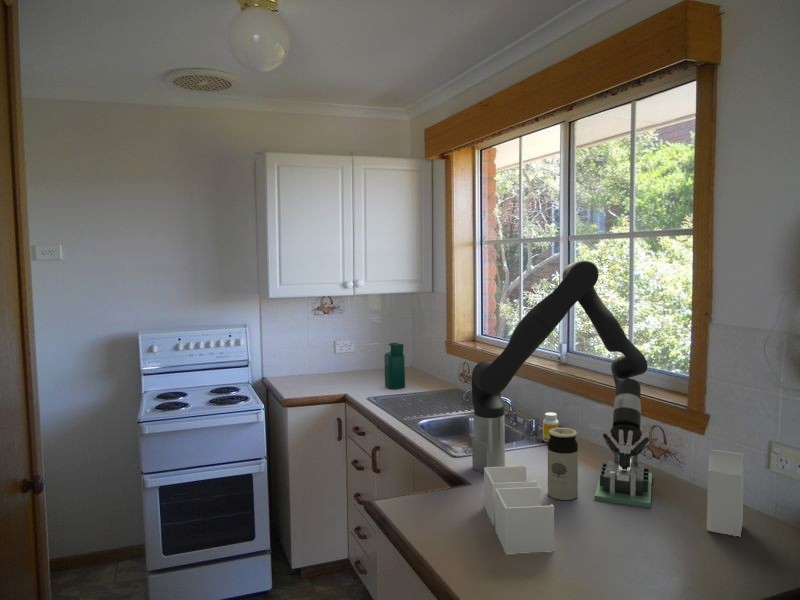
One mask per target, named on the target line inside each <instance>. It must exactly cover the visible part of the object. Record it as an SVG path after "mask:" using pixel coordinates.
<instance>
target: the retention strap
mask: <svg viewBox="0 0 800 600" xmlns="http://www.w3.org/2000/svg"><path fill="white" fill-rule="evenodd" d="M632 460H633V459H632V457H631V458H630V467H629V468H627V470H626V469H625V468H624V469H622V467H620V466H619V468H618V474H617V480H621V481H629V476H630V469H631V462H632V463H633V461H632Z"/></svg>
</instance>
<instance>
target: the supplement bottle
mask: <svg viewBox="0 0 800 600" xmlns="http://www.w3.org/2000/svg"><path fill="white" fill-rule="evenodd" d="M557 418H558V416H557V413H556V412H545V413H544V419H543V421H542V440H543V442H545V443H548V441H549V439H550V434H549V430H550V429H553V428H560V427H559V426H560V425H559V420H558V419H557Z"/></svg>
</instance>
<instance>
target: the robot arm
mask: <svg viewBox="0 0 800 600" xmlns="http://www.w3.org/2000/svg"><path fill="white" fill-rule="evenodd" d="M599 275H600V274H599V268H598V267H597V265H596V264H595V263H594V262H592V261H590V260H584V259H583V260H578V261H575V262H572V263H568V265H566V266H565V267H564V269H563V271H562V280H561V281H560V282H559V284H558V285H557V287H556V288H555V289H554V290H552V292H550V293H549V294H548V295H547V296H545V297H544V298H543V299H542V300H540V301H539V302H538V303H536V305H534V306H533V307H532V308H531V309H530V310H529V311H528V312H527V313H526V315H524V317H523V318H521V320H520V321H519V322H518V323H517V325H516V326H515V328H514V330H513V332H512V334H511V337H510V339H509V341H508V343H507V345H506V346H505V348H504V349H503V350H502V352H501V353H500V354H499V355H498V356H497V357H496V358H495V359H494V360H493V361H489V360H482V361H480V362H478V363H477V364H476V365H475V366H474V367H473V370H472V371H471V399H472V405H473V411H474V412H473V413H474V414H473V416H474V419H473V421H474V422H473V423H474V424H473V425H474V427H473V429H474V438H472V440H471V443H472V445H471V446H472V447H471V448H472V449H471V453H472V457H471V459H472V460H471V461H472V470H475V471H478V472H480V473H483V474H484V467H506V456H505V455H506V451H505V450H506V449H505V448H506V446H505V445H506V443H505V442H506V439H505V437H506V434H505V433H506V431H505V428H506V427H505V426H506V425H505V422H506V421H505V416H506V415H505V414H506V413H505V405H504V403H503V399H502V392H503V391H504V390H505V389H506V388H507V387H508V385H509V383H511V381H512V379H513V378H514V376H515V375H516V374H517V373H518V372H519V369H520V368H521V367H522V365H523V364H524V363H525V362H527V360H528V359H529V358H530V357H531V356H532V355H533V353H534V352H535V351H536V350H537V349H538V348H539V346H541V344H543V343H544V341H545V340H547V338H548V337H549V336H550V335H551V334H552V333H553V331H554V330H555V328H557V327H558V325H559V324H560V323H561V321H562V320H563V319H564V318H565V316H566V315H567V314H568V312H569V311H570V309H571V308H572V307H573V306H574V305H575V304H576V303H577V302H578V303H579V304H580V306H581V307H582V309H583V310H584V312H585V314H586V315H587V318H588V319H589V320H590V322H591V323H592V325H593V327H594V329H595V330H596V332H597V334H598V336H599V338H600V340H601V341H602V344H603V345H604V347H605V349H606V351H608V352H609V353H621V354H622V355H621V356H617V357H615V358H614V359H613V360H612V362H611V365H610V370H611V373H612V377H613V381H614V385H615V393H614V394H615V395H614V402H613V413H612V414H613V415H612V427H611V428H610V431H609V432H608V433H603V434H602V440H603V441H604V443H605V444H606V446H607V447H608V448H609V450H610V451H611V452H612V453H613V454H617V455H619V466H620V467H622V469H624V468H625V469H626V470H627V468H629V467H630V458H632V457H633V456H637V455H638V456H639V455H640V454H641V453H642V452H643V451H644V450H645V449H646V448H647V447H648V446H649V445H650V438H649V437H648V436H647V437H645V436H644V435H643V432H642V430H641V419H642V417H641V415H642V403H641V389H642V388H641V384H640V382H639V381H637V380H636V379H634V377H637V376H640V375H641V376H642V375H643V374H646V372H647V370H648V361H647V358H646V356H645V355H644V354H643V352H641V350H639V349H638V348H637V347H636V345H634V343H633V342H631V340H630V339H629V337H627V334H626V333H625V332H624V330H623V327H622V326H621V324H620V322H619V321H618V320H617V318H616V317H615V315H614V314H613V313H612V312H611V310H610V309H609V308H608V307H607V306H606V304H605V303H604V302H603V301H602V299H601V298H600V296H599V294H598V293H597V291H596V288H595V286H596V284H597V282H598V280H599ZM613 440H614V441H615V442H616V444H617V445H618V446H619V447H617V445H616V444H615V443H614V441H613ZM638 442H639V443H638ZM637 443H638V444H637ZM636 444H637V445H636ZM635 445H636V446H635ZM634 446H635V447H634ZM625 447H626V449H625ZM633 447H634V448H633Z"/></svg>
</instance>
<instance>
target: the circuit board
mask: <svg viewBox="0 0 800 600" xmlns="http://www.w3.org/2000/svg"><path fill="white" fill-rule="evenodd" d="M601 470H602V468H601ZM601 470H600V471H601ZM600 474H601V472H600V473H599V478H598V482H597V485H596V489H595V492H594V495H593V496H594V501H600V502H606V503H612V504H613V503H614V504H619V505H620V504H621V505H628V506H629V505H630V506H637V507H644V508H649V507H652V505H651V504H652V503H651V502H652V485H651V484H652V483H653V482H652V481H653V478H652V477H653V473H652V472H649V480H648V492H643V496H637V495H635V498H630V494H622V493H615V496H614V495H610V492H607V491H604V486H600Z"/></svg>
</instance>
